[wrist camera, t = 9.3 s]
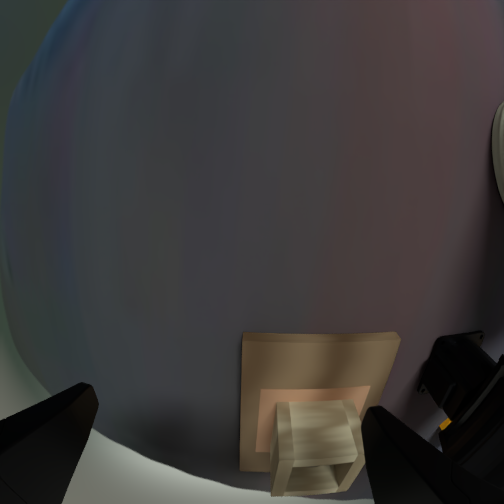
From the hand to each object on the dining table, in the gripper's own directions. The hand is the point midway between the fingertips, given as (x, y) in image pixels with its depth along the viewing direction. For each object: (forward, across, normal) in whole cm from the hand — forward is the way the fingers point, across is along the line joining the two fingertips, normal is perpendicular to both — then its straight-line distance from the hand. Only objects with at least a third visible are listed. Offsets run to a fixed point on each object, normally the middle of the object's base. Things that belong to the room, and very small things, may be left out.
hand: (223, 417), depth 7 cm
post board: (+12, -6, +13) cm, 19 cm away
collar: (+11, -6, +13) cm, 18 cm away
